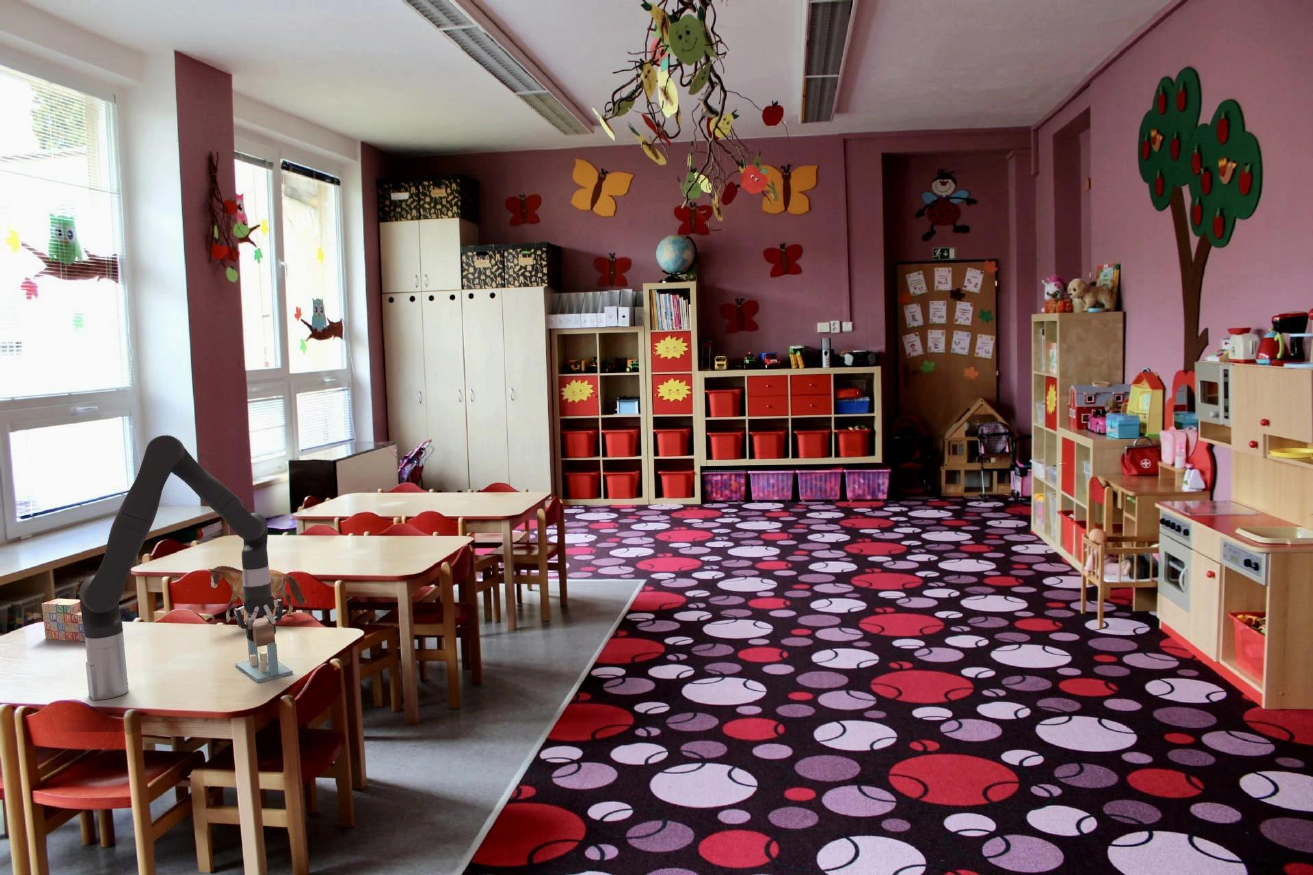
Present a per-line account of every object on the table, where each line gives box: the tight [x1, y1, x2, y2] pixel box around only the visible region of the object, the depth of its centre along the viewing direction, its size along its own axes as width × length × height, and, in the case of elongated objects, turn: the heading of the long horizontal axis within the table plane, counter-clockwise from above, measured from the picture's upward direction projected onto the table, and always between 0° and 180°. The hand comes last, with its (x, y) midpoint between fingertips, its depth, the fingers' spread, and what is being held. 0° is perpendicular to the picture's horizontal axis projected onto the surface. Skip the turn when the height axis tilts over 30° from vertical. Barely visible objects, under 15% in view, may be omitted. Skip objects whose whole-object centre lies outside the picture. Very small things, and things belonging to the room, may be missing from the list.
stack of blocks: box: [41, 598, 85, 642], centre depth 325 cm, size 21×6×12 cm, turn 72°
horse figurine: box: [207, 565, 308, 624], centre depth 339 cm, size 31×8×21 cm, turn 104°
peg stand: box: [234, 639, 294, 683], centre depth 286 cm, size 10×19×10 cm, turn 41°
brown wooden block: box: [252, 616, 276, 648], centre depth 286 cm, size 12×5×5 cm, turn 33°
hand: (261, 638), depth 286 cm, fingers closed on brown wooden block, 5 cm apart
